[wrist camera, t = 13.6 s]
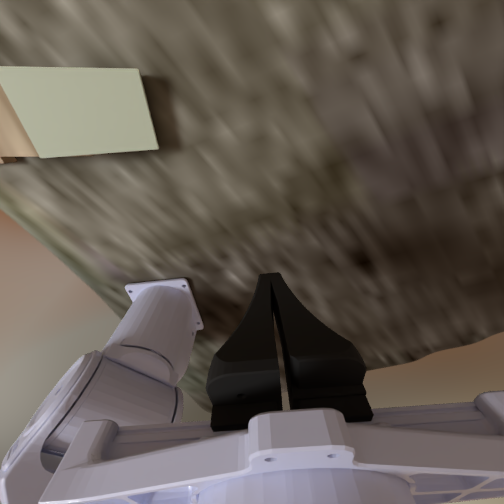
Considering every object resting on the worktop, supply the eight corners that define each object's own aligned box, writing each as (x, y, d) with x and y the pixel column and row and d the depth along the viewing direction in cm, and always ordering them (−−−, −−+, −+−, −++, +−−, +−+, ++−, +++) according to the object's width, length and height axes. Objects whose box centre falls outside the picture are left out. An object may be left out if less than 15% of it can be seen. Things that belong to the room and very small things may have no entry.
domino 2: (137, 68, 14) (-10, 66, 12) (158, 149, 17) (40, 158, 15) (140, 73, 15) (7, 72, 13) (159, 147, 18) (50, 155, 16)
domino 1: (66, 78, 14) (-103, 62, 12) (92, 156, 17) (-43, 156, 14) (74, 81, 16) (-77, 68, 13) (97, 154, 18) (-26, 154, 16)
